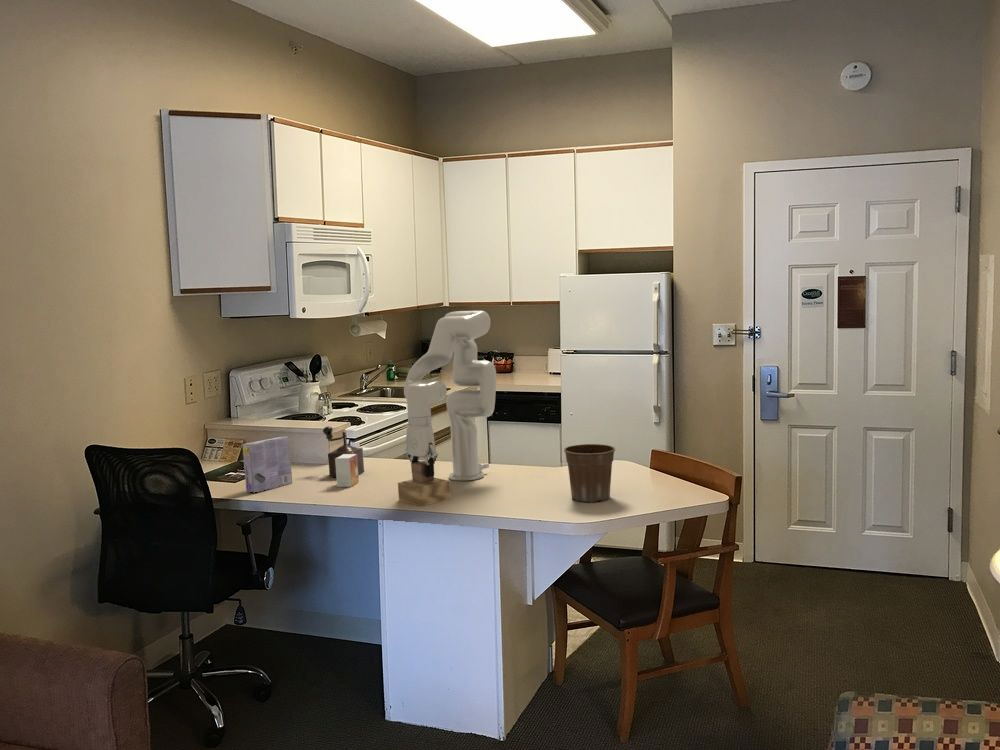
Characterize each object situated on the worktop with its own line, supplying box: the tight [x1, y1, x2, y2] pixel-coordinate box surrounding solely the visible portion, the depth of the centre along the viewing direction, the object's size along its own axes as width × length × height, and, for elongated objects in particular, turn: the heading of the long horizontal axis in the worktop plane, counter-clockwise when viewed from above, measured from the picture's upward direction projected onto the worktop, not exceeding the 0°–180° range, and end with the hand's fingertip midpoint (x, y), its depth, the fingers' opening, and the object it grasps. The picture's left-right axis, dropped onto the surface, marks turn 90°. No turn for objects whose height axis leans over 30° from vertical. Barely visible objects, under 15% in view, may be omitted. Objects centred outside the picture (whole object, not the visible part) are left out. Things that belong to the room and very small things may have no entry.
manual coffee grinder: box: [322, 426, 365, 478], centre depth 345 cm, size 16×11×18 cm
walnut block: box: [410, 460, 435, 483], centre depth 299 cm, size 5×5×6 cm
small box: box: [335, 454, 360, 488], centre depth 327 cm, size 8×6×10 cm
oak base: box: [397, 477, 451, 507], centre depth 299 cm, size 12×12×6 cm
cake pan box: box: [242, 436, 293, 494], centre depth 328 cm, size 19×5×18 cm, turn 145°
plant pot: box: [563, 443, 616, 503], centre depth 290 cm, size 16×16×16 cm
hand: (423, 474), depth 299 cm, fingers open, 6 cm apart
